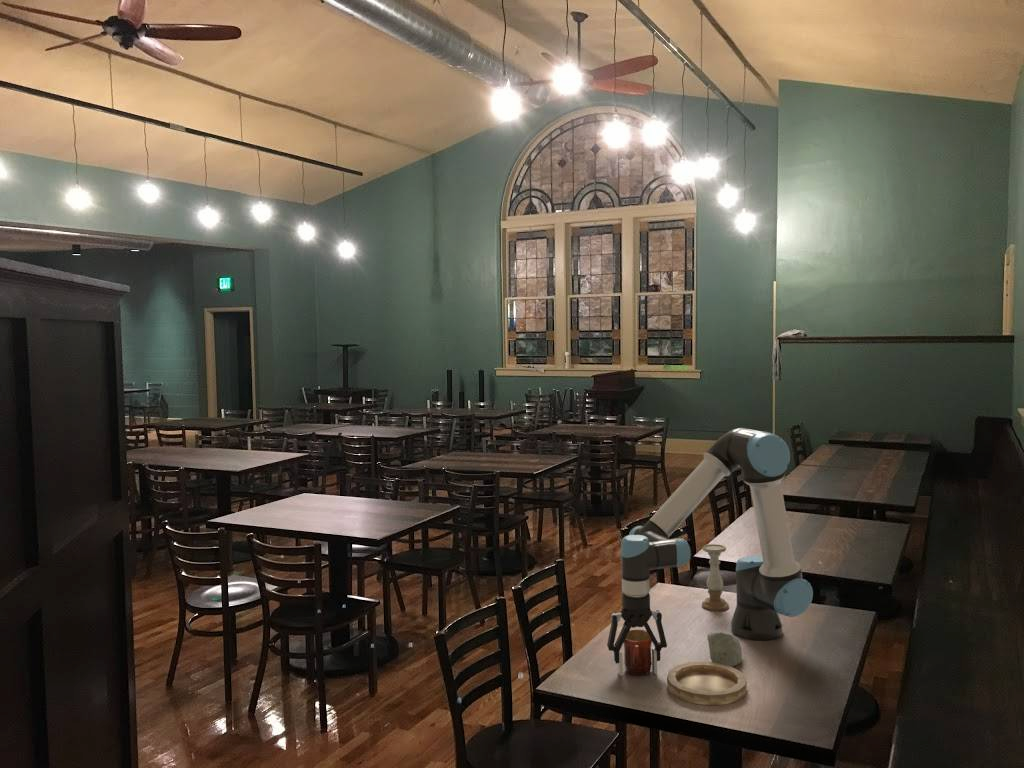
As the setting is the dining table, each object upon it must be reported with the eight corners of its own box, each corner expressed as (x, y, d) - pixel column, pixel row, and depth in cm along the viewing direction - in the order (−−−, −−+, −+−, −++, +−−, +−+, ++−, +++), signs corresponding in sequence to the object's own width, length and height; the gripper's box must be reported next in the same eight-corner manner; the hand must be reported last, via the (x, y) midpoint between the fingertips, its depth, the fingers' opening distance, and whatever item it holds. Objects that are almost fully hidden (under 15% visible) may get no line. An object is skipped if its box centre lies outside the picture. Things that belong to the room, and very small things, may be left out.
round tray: (732, 669, 230) (731, 659, 230) (757, 702, 211) (757, 692, 210) (660, 673, 229) (659, 664, 229) (678, 707, 210) (678, 696, 209)
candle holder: (702, 611, 276) (701, 550, 275) (701, 601, 285) (699, 543, 283) (730, 611, 275) (729, 550, 273) (727, 602, 283) (726, 543, 282)
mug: (623, 664, 237) (622, 628, 236) (654, 665, 235) (653, 629, 234) (620, 682, 225) (619, 645, 224) (653, 684, 223) (652, 646, 223)
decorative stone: (731, 675, 227) (748, 642, 229) (695, 654, 232) (711, 622, 234) (735, 680, 238) (751, 648, 240) (700, 660, 243) (716, 629, 245)
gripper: (671, 586, 233) (672, 665, 234) (594, 590, 231) (596, 669, 233) (678, 595, 225) (679, 676, 227) (598, 599, 224) (600, 681, 226)
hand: (637, 673), depth 230 cm, fingers open, 9 cm apart
